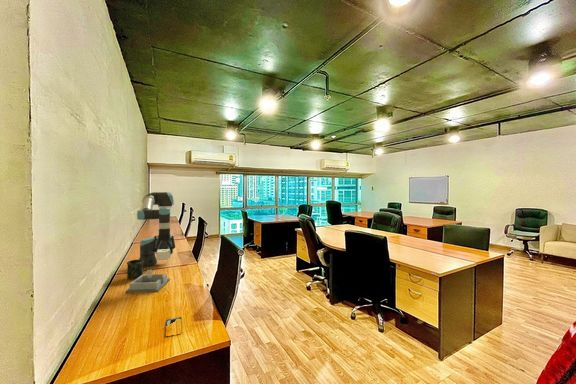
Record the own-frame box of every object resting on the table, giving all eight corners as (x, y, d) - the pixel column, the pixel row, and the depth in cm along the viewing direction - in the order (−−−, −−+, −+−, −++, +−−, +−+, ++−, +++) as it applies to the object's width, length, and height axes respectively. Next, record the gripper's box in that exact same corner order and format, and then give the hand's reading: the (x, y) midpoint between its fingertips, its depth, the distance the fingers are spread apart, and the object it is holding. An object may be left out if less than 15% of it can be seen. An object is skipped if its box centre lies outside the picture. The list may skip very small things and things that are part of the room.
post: (148, 283, 166) (148, 269, 166) (152, 283, 166) (152, 269, 166) (146, 285, 163) (146, 270, 163) (150, 285, 163) (150, 270, 163)
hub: (167, 259, 176) (167, 251, 176) (156, 260, 175) (156, 252, 175) (174, 255, 189) (174, 247, 189) (163, 255, 188) (163, 247, 188)
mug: (144, 273, 188) (144, 258, 188) (141, 280, 175) (141, 263, 175) (128, 275, 184) (128, 260, 184) (124, 282, 171) (124, 265, 170)
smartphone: (164, 337, 107) (165, 319, 121) (164, 339, 107) (165, 321, 121) (182, 333, 110) (181, 316, 124) (182, 335, 110) (181, 318, 124)
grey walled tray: (141, 281, 173) (141, 273, 173) (170, 280, 175) (170, 273, 175) (125, 292, 153) (125, 284, 153) (158, 291, 156) (158, 283, 156)
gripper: (147, 229, 174) (147, 259, 175) (177, 228, 177) (176, 259, 177) (152, 227, 182) (152, 257, 182) (180, 227, 184) (180, 256, 184)
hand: (164, 258), depth 180 cm, fingers closed on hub, 8 cm apart
